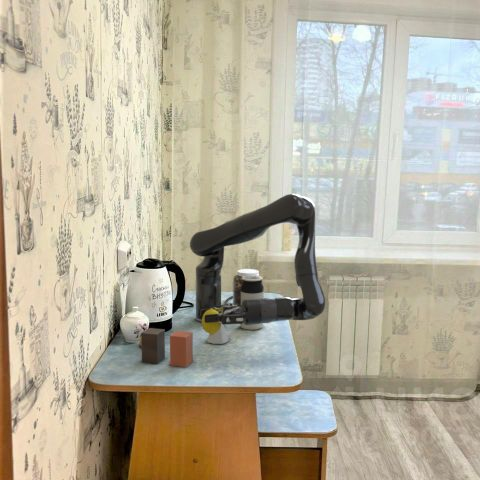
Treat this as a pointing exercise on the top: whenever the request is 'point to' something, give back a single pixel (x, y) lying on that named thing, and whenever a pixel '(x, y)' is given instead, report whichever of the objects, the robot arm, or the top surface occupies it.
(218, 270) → the robot arm
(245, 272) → the jar
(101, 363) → the top surface
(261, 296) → the travel mug
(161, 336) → the walnut block
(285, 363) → the top surface
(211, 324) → the lemon
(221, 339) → the flask
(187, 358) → the terracotta block
